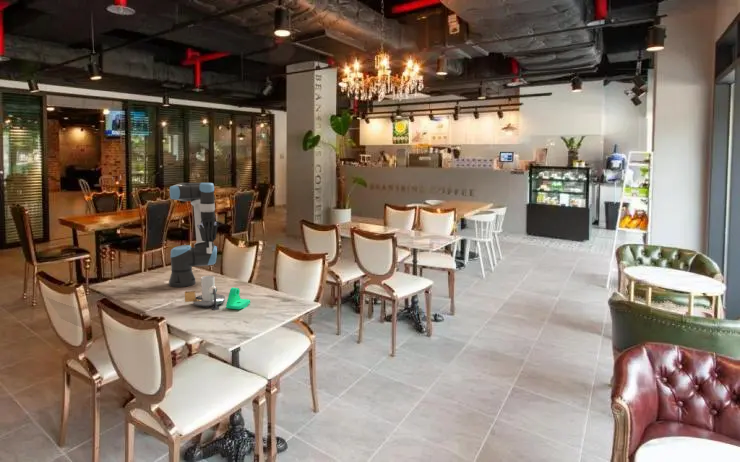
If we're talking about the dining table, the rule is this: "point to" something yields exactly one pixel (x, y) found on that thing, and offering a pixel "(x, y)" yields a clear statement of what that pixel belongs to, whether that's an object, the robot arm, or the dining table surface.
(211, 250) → the robot arm
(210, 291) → the gauge post
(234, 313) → the dining table surface
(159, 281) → the dining table surface
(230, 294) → the camera mount
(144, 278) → the dining table surface
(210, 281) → the mug
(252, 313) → the dining table surface
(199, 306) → the turntable base
